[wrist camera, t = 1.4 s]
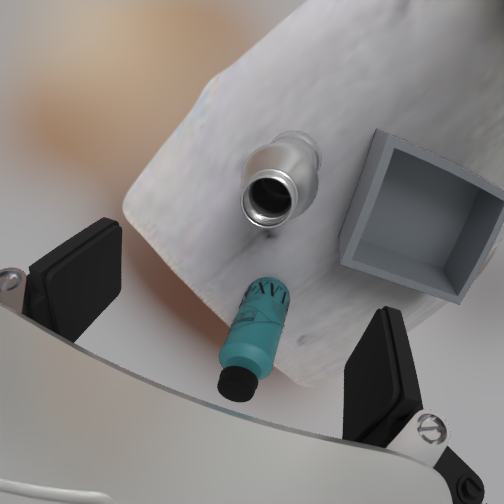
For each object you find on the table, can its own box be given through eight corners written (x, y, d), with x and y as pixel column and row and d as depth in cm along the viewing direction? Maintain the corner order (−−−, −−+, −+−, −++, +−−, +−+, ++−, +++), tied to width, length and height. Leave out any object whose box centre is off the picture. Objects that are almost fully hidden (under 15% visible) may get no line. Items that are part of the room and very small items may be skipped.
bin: (376, 128, 34) (388, 134, 27) (485, 179, 33) (514, 197, 26) (338, 235, 41) (339, 264, 34) (442, 273, 40) (459, 304, 33)
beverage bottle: (301, 291, 47) (280, 399, 29) (270, 314, 50) (238, 417, 32) (269, 261, 46) (231, 362, 28) (239, 287, 49) (192, 385, 31)
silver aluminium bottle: (262, 170, 40) (208, 229, 22) (279, 121, 37) (235, 138, 19) (310, 189, 40) (294, 263, 22) (329, 140, 36) (332, 174, 19)
